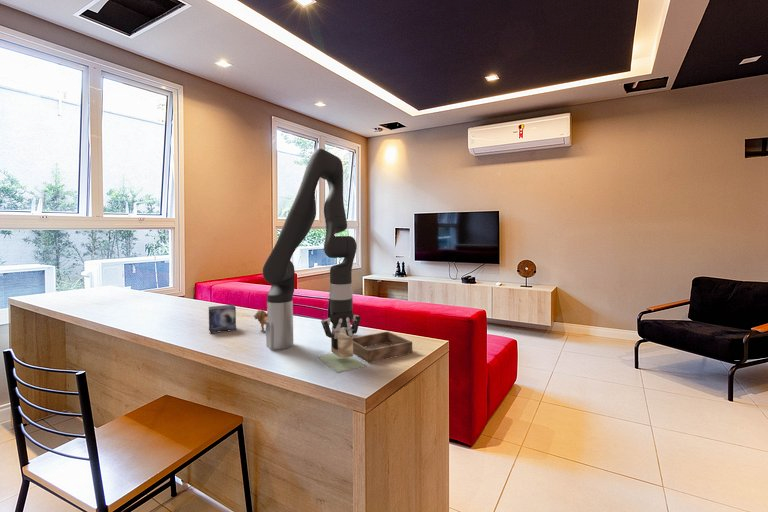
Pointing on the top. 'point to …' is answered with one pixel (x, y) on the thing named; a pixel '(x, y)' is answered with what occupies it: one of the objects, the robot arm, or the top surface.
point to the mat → (341, 362)
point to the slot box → (396, 349)
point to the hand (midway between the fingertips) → (341, 347)
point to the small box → (222, 318)
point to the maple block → (343, 346)
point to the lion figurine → (261, 318)
